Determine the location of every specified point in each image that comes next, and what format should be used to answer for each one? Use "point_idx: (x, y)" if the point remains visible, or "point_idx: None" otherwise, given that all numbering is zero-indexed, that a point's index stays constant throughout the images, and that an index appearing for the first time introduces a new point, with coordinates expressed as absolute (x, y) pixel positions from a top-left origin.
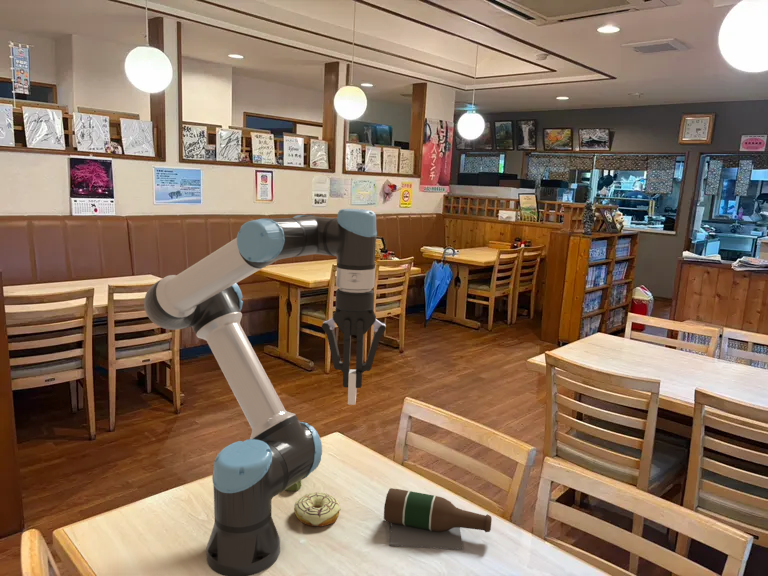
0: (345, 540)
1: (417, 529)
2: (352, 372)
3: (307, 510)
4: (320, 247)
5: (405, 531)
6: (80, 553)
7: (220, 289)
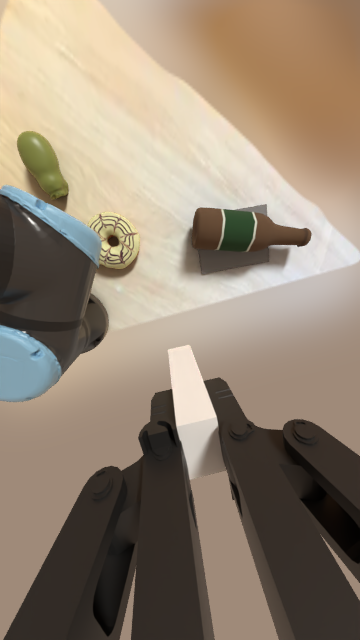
0: (158, 277)
1: None
2: (203, 459)
3: (107, 259)
4: None
5: (214, 250)
6: None
7: None
